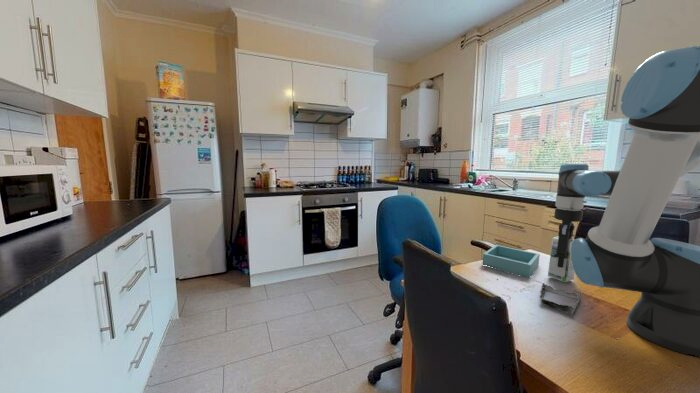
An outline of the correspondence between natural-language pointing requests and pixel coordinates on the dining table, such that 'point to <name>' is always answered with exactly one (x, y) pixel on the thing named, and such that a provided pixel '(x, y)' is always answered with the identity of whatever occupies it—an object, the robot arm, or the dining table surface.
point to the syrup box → (569, 266)
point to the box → (511, 260)
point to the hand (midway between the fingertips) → (561, 272)
